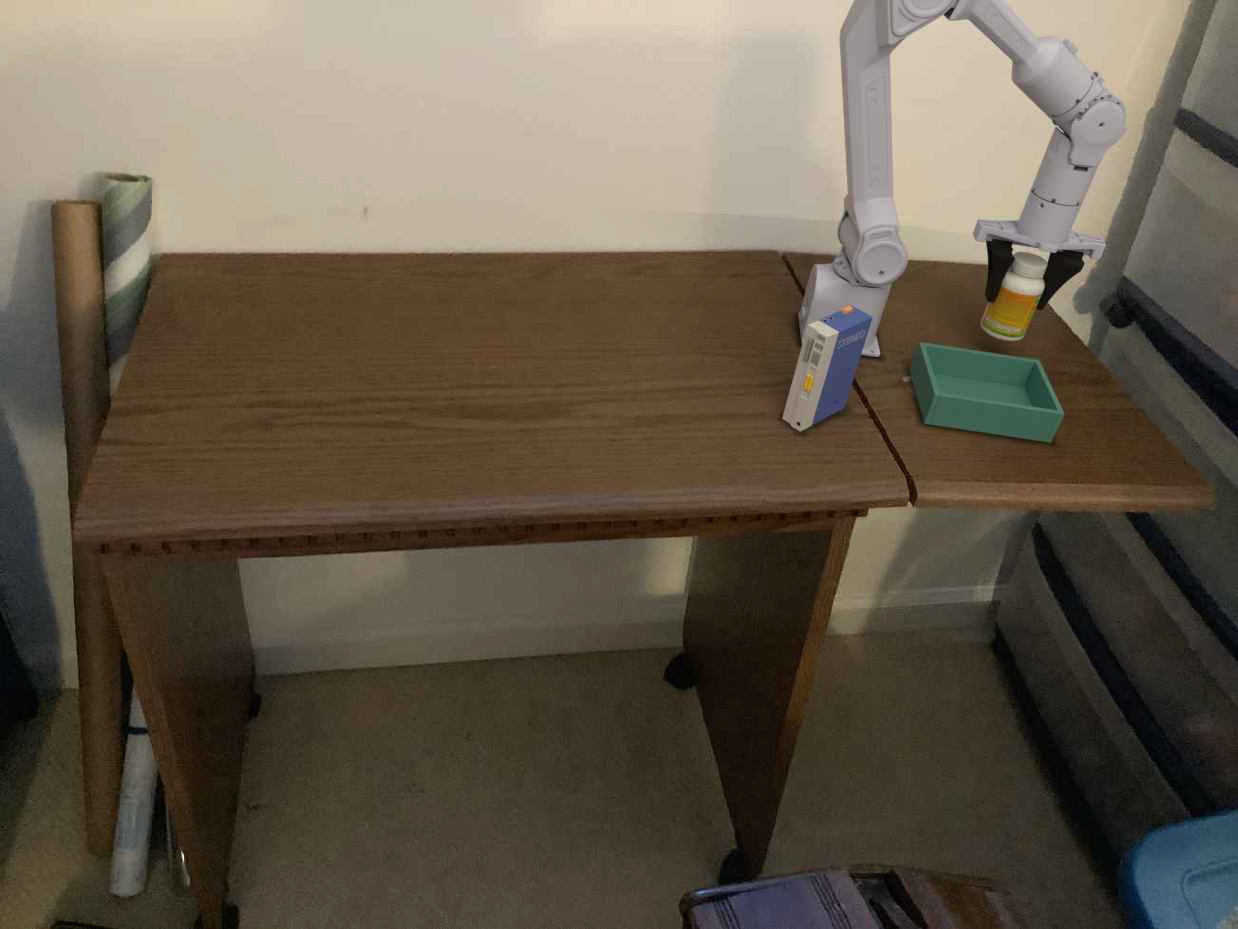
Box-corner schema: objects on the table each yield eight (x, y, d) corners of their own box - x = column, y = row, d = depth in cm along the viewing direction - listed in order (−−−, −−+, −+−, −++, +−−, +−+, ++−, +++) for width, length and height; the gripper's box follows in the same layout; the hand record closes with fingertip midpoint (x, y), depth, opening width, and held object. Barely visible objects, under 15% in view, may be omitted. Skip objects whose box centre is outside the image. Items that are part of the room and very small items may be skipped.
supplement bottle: (1025, 346, 122) (1057, 273, 116) (981, 336, 122) (1009, 264, 116) (1021, 325, 126) (1051, 254, 120) (977, 316, 127) (1005, 245, 121)
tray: (923, 423, 111) (934, 394, 109) (909, 369, 120) (919, 341, 118) (1051, 442, 111) (1064, 414, 109) (1027, 387, 120) (1039, 359, 118)
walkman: (824, 396, 113) (852, 302, 106) (844, 409, 112) (874, 313, 104) (779, 419, 108) (805, 321, 101) (799, 432, 107) (827, 334, 100)
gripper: (1000, 199, 110) (959, 309, 119) (1131, 219, 110) (1081, 327, 119) (987, 175, 116) (949, 281, 124) (1112, 194, 116) (1065, 299, 124)
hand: (1012, 302), depth 122 cm, fingers closed on supplement bottle, 5 cm apart
